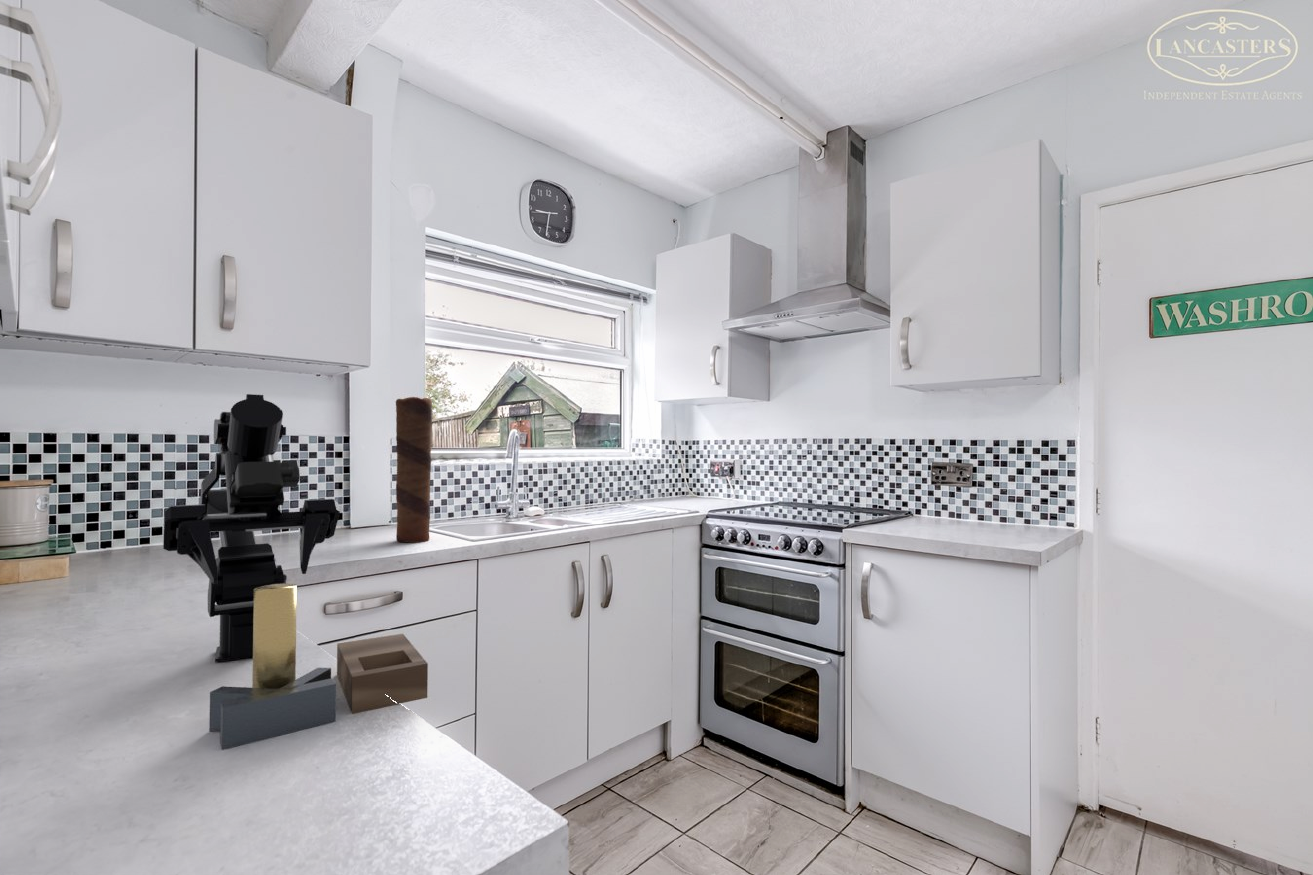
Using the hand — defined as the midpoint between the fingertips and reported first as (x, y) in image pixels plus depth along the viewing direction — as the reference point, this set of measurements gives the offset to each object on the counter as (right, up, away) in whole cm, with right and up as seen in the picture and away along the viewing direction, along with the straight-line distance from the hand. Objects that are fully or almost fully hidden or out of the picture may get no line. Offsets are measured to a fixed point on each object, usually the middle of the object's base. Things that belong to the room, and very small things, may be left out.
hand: (261, 576), depth 76 cm
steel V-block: (+8, -13, -10) cm, 18 cm away
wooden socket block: (+14, -14, +1) cm, 20 cm away
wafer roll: (-28, -16, +120) cm, 124 cm away
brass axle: (+6, -14, -8) cm, 17 cm away
